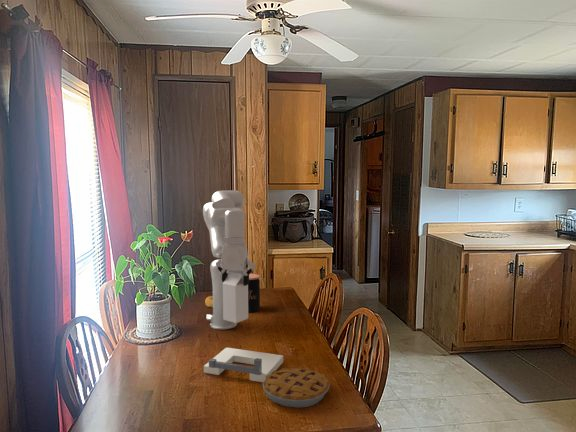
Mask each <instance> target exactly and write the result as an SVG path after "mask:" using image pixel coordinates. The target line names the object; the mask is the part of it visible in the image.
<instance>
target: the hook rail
mask: <svg viewBox="0 0 576 432" xmlns="http://www.w3.org/2000/svg"><path fill="white" fill-rule="evenodd" d="M208 362H209V367H211V368H220V369H225V370H229V371H234V372H241V373H248V374H250V373H252V374H255V375H260V374H261V373H262V359H259V358H256V359H255V360H254V365H253V366H251V365H249V366H248V365H243V364H237V363H233V362H232V363H225V362H218V361H216V359H213V357H212V358H209V359H208Z"/></svg>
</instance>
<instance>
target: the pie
mask: <svg viewBox="0 0 576 432" xmlns="http://www.w3.org/2000/svg"><path fill="white" fill-rule="evenodd" d="M330 386H331V383H330V380H329V379H328V378H327V376H326V375H325V374H323V373H319V371H317V370H316V369H313V370H310V369H309V368H308V367H302V368H298V367H293V366H292V367H290V368H286V367H283V368H280V370H278V371H277V370H276V371H273V372H272V373H271V375H268V376H267V377H266V380H265V381H264V382H262V387H263V388H262V389H263V391H264V392H265V393H266V395H267V397H268V399H270V401H272V402H273V403H276V404H278V405H281V406H285V407H290V408H309V407H312V406H314V405H316V404H318V403H319V402H321V401H322V399H324V397H325V396H326V393H328V392H329V389H330Z"/></svg>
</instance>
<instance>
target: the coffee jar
mask: <svg viewBox="0 0 576 432" xmlns="http://www.w3.org/2000/svg"><path fill="white" fill-rule="evenodd" d="M260 281H261V280H260V275H259V274H257V273H250V274H249V283H248V313H256V312H258V311H259V309H260V307H261V295H260V294H261V291H260V290H261V286H260V285H261V282H260Z"/></svg>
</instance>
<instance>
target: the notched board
mask: <svg viewBox="0 0 576 432" xmlns="http://www.w3.org/2000/svg"><path fill="white" fill-rule="evenodd" d="M256 358H259V359H262V373H261V374H260V375H255V374H252V373H249V381H252V382H258V383H259V382H260V383H264V381H265V380H266V377H267V376H268V375H271V373H272V372H273V371H277V369H279V368H280V366H281V365H282V364H283V363H284V355H282V354H275V353H268V352H260V351H253V350H246V349H239V348H234V347H233V348H232V347H225V348H224V349H223V350H221V351H219V353H218V354H217V355H215V356H214V357H212V359H216V361H218V362H225V363H232V364H233V363H234V362H235V363H240V364H241V363H242V364H248V365H253V366H254V360H255V359H256ZM225 370H226V369H220V368H211V367H209V361H208V362H207V363H205V364H204V365H203V373H204V374H211V375H216V376H219V375H220V374H221V373H223V372H224V371H225Z"/></svg>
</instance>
